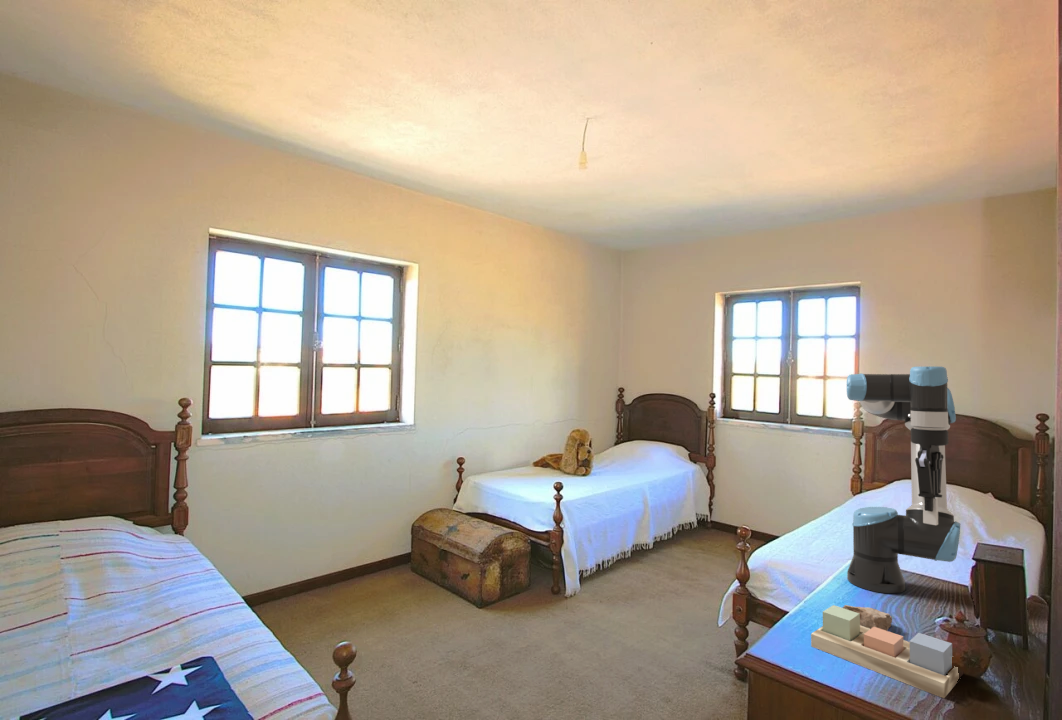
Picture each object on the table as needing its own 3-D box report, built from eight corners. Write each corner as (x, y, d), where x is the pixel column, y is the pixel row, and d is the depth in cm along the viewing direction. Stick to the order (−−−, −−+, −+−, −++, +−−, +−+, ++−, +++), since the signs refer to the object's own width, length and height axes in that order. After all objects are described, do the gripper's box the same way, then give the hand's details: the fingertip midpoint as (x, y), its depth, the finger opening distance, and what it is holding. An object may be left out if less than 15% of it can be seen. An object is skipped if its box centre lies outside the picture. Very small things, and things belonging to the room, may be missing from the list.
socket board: (836, 629, 136) (836, 617, 136) (963, 674, 116) (963, 660, 116) (811, 646, 128) (811, 633, 128) (944, 698, 107) (943, 683, 107)
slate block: (919, 655, 119) (918, 632, 119) (952, 666, 114) (952, 643, 114) (909, 664, 115) (909, 641, 115) (943, 676, 111) (943, 652, 111)
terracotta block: (874, 647, 126) (873, 626, 126) (903, 658, 121) (903, 636, 122) (864, 656, 122) (863, 634, 123) (894, 667, 118) (893, 644, 118)
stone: (880, 638, 132) (880, 618, 132) (836, 619, 142) (836, 600, 142) (901, 631, 136) (901, 611, 136) (857, 613, 146) (857, 594, 146)
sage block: (833, 625, 133) (833, 605, 133) (859, 634, 128) (859, 613, 129) (822, 632, 130) (822, 611, 130) (849, 642, 125) (849, 620, 125)
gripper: (919, 425, 139) (921, 516, 139) (902, 428, 131) (903, 524, 131) (955, 427, 133) (957, 522, 133) (939, 431, 125) (941, 532, 125)
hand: (930, 523), depth 132 cm, fingers closed
